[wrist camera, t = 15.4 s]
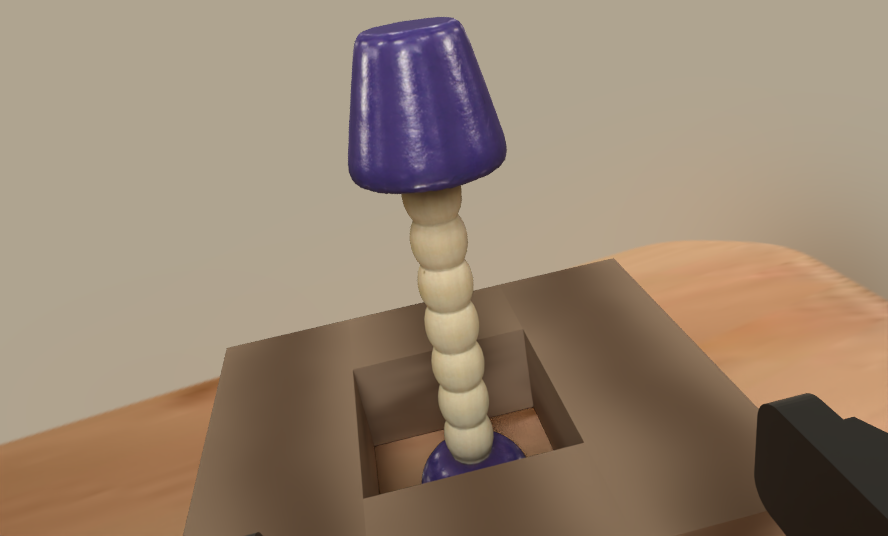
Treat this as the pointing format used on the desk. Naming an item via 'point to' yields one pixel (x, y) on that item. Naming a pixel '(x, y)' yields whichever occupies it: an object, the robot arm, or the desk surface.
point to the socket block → (509, 389)
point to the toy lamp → (433, 203)
